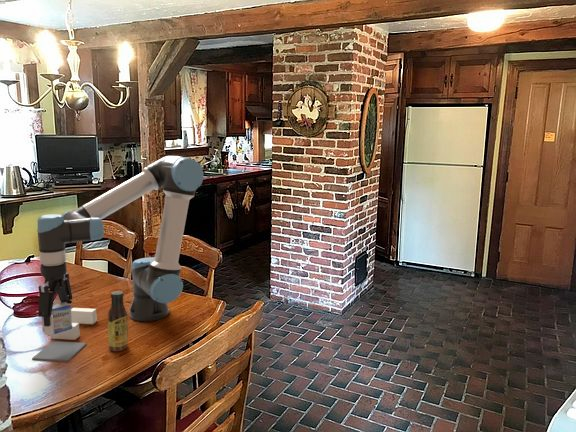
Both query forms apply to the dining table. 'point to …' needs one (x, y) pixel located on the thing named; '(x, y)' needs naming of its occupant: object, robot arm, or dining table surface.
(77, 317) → the slot stand
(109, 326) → the sauce bottle
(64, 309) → the medicine box
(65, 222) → the robot arm
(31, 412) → the dining table surface
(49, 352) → the rubber mat
